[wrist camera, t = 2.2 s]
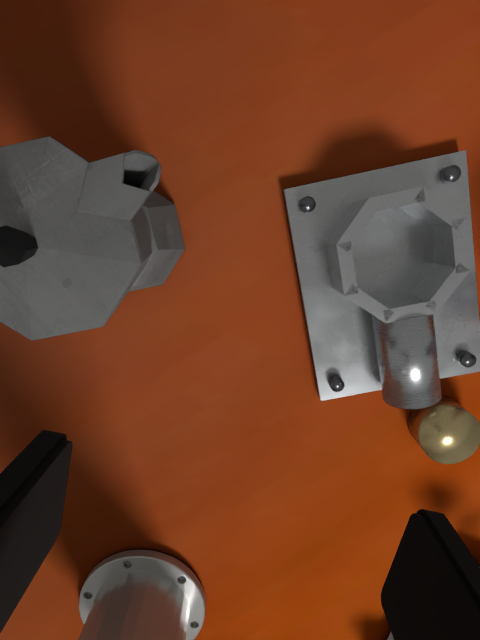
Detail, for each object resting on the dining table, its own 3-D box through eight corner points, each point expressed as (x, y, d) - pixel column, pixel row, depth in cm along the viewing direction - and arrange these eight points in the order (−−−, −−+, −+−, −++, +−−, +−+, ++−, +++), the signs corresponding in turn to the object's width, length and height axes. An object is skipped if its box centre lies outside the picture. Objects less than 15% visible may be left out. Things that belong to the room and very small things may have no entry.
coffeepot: (160, 138, 31) (55, 24, 14) (228, 240, 33) (210, 252, 16) (11, 249, 34) (-245, 272, 16) (82, 340, 35) (-79, 451, 18)
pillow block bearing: (476, 366, 35) (517, 391, 30) (318, 396, 36) (331, 424, 31) (459, 152, 31) (502, 137, 26) (282, 190, 32) (290, 183, 27)
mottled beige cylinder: (464, 439, 37) (483, 458, 34) (410, 449, 37) (424, 468, 34) (460, 390, 36) (479, 404, 33) (404, 400, 36) (418, 415, 33)
